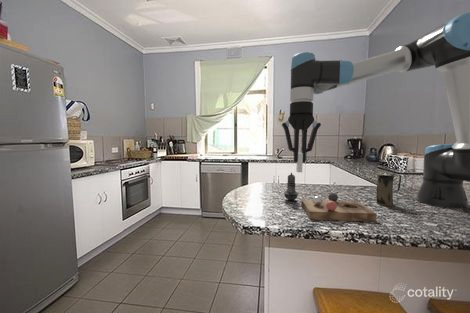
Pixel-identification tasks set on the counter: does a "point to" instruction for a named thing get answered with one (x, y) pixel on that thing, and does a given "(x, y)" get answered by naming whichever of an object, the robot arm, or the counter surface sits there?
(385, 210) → the counter surface
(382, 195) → the mug
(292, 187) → the salt shaker
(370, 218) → the wooden board
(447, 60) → the robot arm
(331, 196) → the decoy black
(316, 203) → the steel ball
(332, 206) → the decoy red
